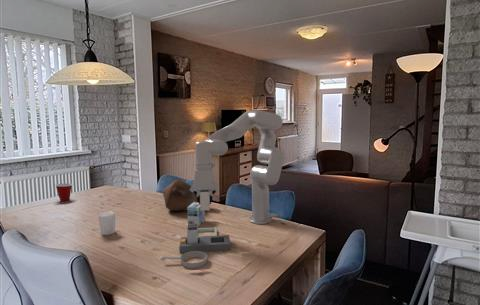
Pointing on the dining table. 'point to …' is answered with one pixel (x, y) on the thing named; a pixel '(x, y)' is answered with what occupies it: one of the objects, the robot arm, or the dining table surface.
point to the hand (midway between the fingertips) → (205, 203)
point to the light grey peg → (192, 234)
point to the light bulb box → (195, 214)
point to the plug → (204, 200)
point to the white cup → (107, 223)
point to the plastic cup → (64, 191)
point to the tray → (208, 230)
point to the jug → (178, 196)
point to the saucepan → (189, 255)
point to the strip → (206, 244)
